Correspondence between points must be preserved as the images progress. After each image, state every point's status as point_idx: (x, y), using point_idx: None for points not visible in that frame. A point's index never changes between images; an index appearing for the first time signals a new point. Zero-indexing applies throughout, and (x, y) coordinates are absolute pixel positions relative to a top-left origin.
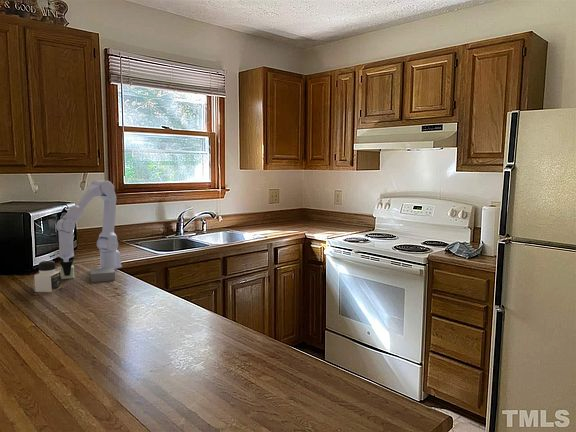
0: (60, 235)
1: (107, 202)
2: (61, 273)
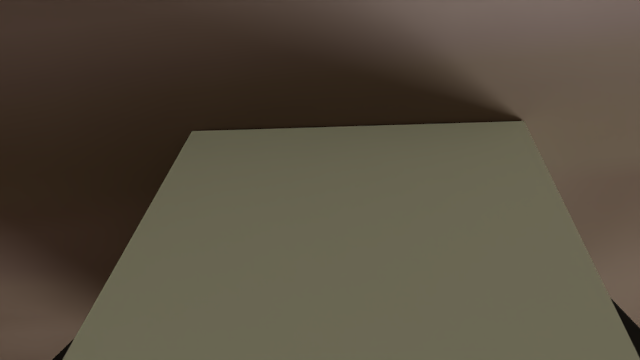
0: None
1: None
2: (134, 239)
